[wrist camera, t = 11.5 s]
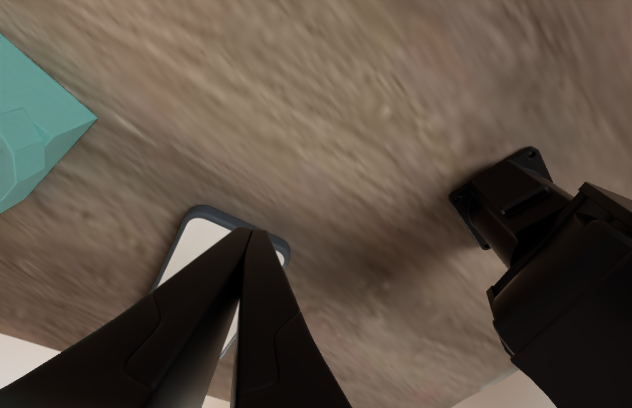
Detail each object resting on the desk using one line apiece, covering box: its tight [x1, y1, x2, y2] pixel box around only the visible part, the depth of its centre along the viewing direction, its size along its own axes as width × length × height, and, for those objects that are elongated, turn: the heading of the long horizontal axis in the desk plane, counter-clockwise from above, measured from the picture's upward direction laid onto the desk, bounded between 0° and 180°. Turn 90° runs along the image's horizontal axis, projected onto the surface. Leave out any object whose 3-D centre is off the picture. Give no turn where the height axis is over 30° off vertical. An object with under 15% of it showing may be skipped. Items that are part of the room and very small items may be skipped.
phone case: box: [148, 205, 290, 359], centre depth 27 cm, size 9×2×16 cm
